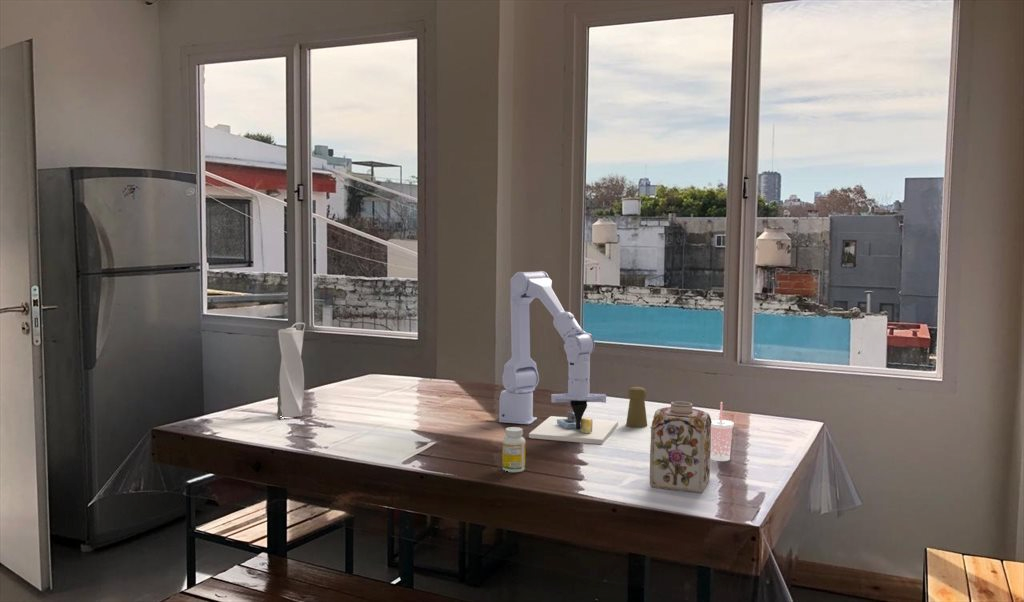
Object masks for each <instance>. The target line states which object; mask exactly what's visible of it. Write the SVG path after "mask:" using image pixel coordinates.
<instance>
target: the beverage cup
mask: <svg viewBox="0 0 1024 602" xmlns="http://www.w3.org/2000/svg"><path fill="white" fill-rule="evenodd" d="M719 405H720V406H719V409H720V412H719V416H720V417H719V419H711V421H712V423H711V455H710V460H713V461H718V462H728V461H730V459H731V449H732V447H731V446H732V435H733V429H734V425H735V424H734V422H733V421H731V420H728V419H727V420H726V419H723V401H720V404H719Z"/></svg>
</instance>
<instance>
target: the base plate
mask: <svg viewBox="0 0 1024 602" xmlns="http://www.w3.org/2000/svg"><path fill="white" fill-rule="evenodd" d="M566 418H567V417H566V416H554V415H550V416H549V417H548V418H546V419H545V420H544V421H543V422H541V423H540V424H539V425H538V426H537V427H535V428H534V429H532V430H531V431H530V432H529V433H528V439H534V440H535V439H536V440H537V439H538V440H548V441H549V440H550V441H560V442H571V443H572V442H573V443H581V444H582V443H585V444H597V445H604V443H605V442H606V441H607V440H608V438H609V437H610V436H611V435H612V433H613V432H614V431H615V430H616V428H617V427H618V426H619V420H609V419H608V420H607V419H593V418H592V419H593V421H592V432H590V433H583V432H581V431H579V430H577V429H575V428H569V429H567V428H565V427H563V426H561V425H559V424H557V419H566Z"/></svg>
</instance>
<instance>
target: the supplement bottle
mask: <svg viewBox="0 0 1024 602" xmlns="http://www.w3.org/2000/svg"><path fill="white" fill-rule="evenodd" d="M523 430H524V429H523V428H522V427H517V426H511V427H509V426H508V427H506V428H505V430H504V431H505V437H504V438H503V439H502V457H501V458H502V460H501V461H502V464H501V465H502V470H503V471H504V470H505V471H504V472H506V471H508V473H521V472H524V471H525V469H526V438H525V437H523V434H524V431H523Z"/></svg>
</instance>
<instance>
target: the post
mask: <svg viewBox="0 0 1024 602" xmlns="http://www.w3.org/2000/svg"><path fill="white" fill-rule="evenodd" d="M566 416H567V422H568V423H574V422H576V418H575V415H574V412H573V411H567V415H566Z"/></svg>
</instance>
